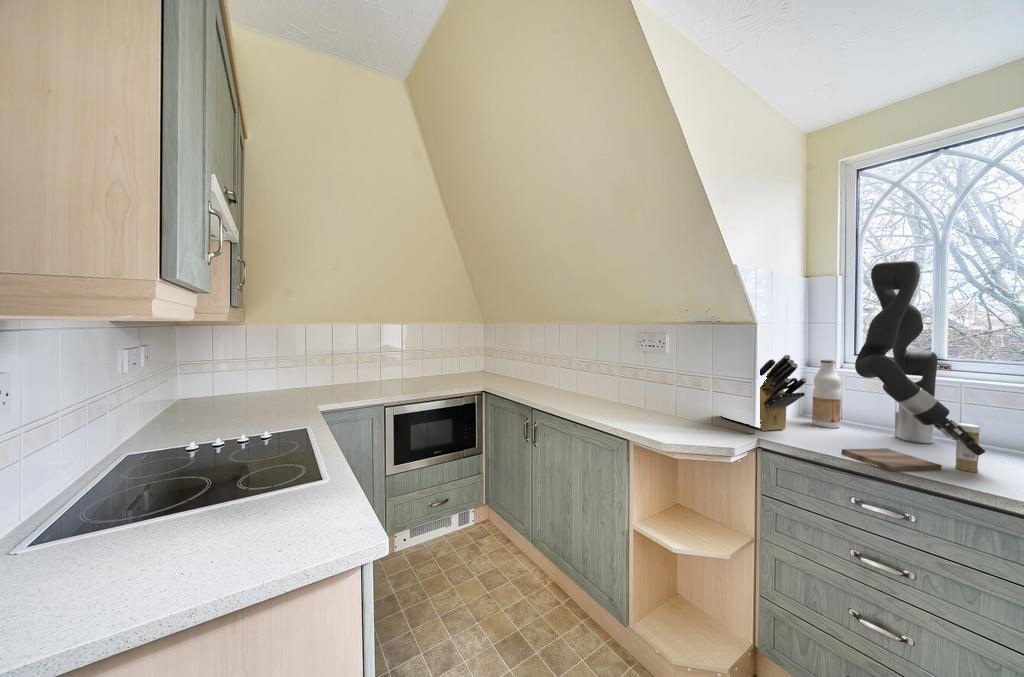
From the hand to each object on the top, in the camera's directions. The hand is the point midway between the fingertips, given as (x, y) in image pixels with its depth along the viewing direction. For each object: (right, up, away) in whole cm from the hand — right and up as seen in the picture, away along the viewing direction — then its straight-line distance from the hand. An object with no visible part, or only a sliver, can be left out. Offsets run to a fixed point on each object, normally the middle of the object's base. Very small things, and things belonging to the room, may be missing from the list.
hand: (976, 450), depth 116 cm
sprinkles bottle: (-2, -6, +1) cm, 6 cm away
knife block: (-33, -4, +51) cm, 60 cm away
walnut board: (-18, -6, +8) cm, 21 cm away
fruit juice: (-3, -4, +52) cm, 52 cm away
